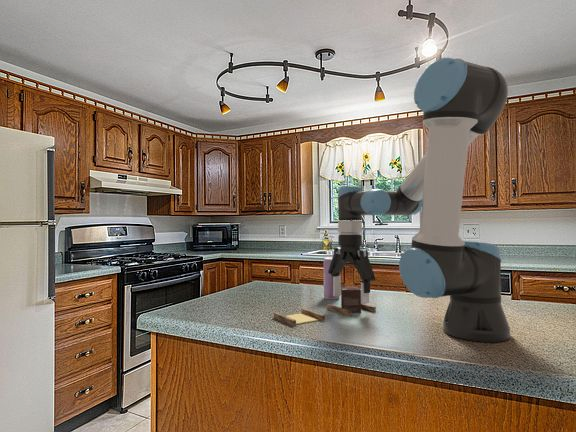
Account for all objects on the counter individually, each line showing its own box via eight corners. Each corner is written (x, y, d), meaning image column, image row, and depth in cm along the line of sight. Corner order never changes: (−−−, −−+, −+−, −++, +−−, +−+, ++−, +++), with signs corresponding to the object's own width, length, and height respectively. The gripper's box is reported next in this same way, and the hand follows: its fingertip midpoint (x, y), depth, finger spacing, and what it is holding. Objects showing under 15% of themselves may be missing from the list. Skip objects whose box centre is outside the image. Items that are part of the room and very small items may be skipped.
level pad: (318, 320, 107) (318, 319, 107) (296, 324, 103) (296, 323, 103) (301, 314, 114) (301, 313, 114) (280, 317, 110) (280, 316, 110)
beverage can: (340, 299, 136) (340, 258, 136) (324, 299, 136) (324, 259, 136) (338, 296, 142) (338, 257, 142) (323, 296, 142) (322, 257, 142)
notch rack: (375, 311, 117) (375, 306, 117) (293, 326, 101) (292, 320, 101) (352, 305, 126) (352, 300, 126) (273, 317, 110) (273, 312, 110)
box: (359, 308, 122) (359, 286, 122) (361, 313, 116) (361, 289, 116) (341, 308, 122) (340, 286, 122) (341, 312, 116) (341, 289, 116)
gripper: (387, 234, 111) (387, 305, 110) (335, 232, 132) (335, 291, 132) (368, 235, 107) (368, 308, 107) (318, 232, 128) (318, 294, 128)
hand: (350, 299), depth 119 cm, fingers open, 13 cm apart
